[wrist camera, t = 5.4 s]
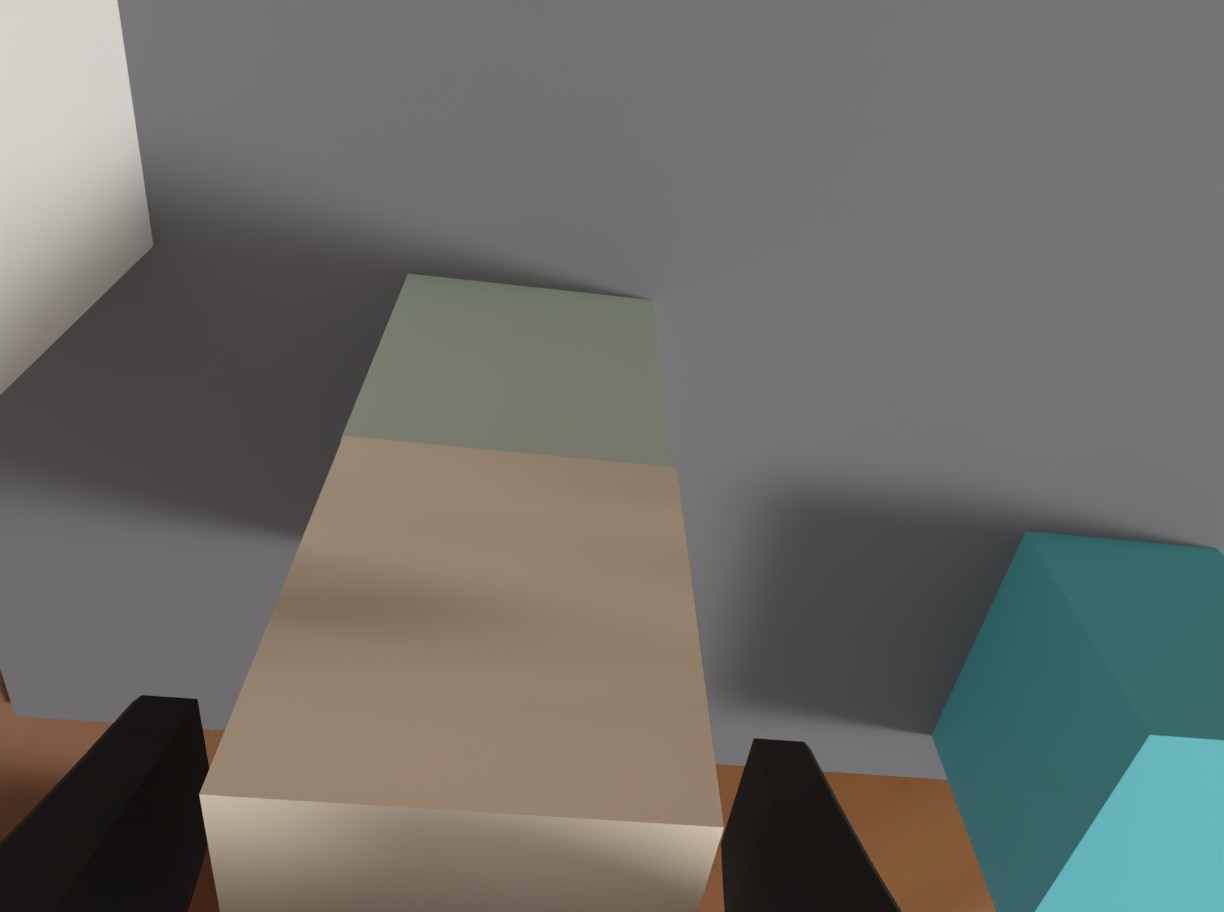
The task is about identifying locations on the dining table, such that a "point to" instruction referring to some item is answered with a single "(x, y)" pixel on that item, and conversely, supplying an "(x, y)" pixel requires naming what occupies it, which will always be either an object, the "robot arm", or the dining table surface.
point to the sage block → (517, 373)
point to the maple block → (473, 697)
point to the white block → (63, 171)
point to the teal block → (1095, 729)
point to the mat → (683, 315)
